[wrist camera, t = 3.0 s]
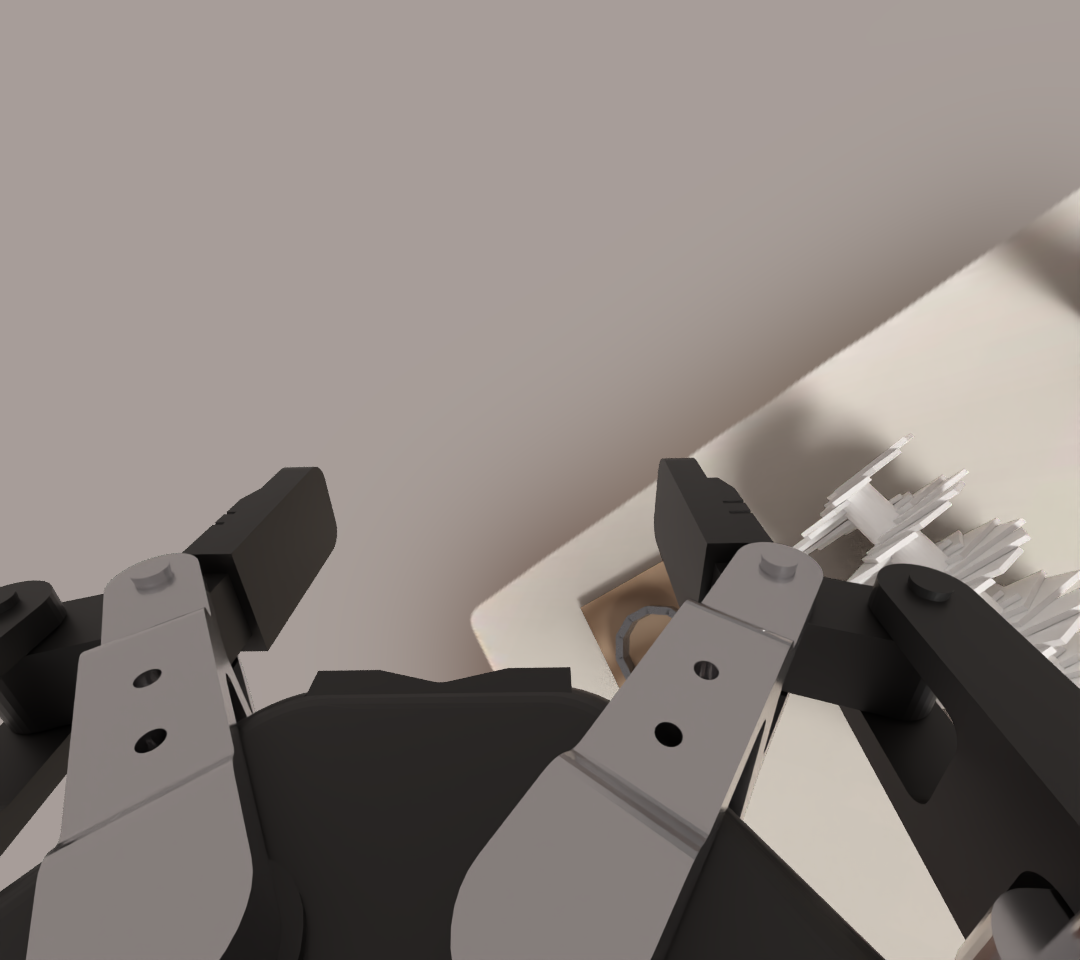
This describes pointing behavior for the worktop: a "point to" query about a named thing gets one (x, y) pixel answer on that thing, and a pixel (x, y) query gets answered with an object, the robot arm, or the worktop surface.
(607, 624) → the walnut board
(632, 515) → the worktop surface
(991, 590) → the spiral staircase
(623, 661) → the ring collar
